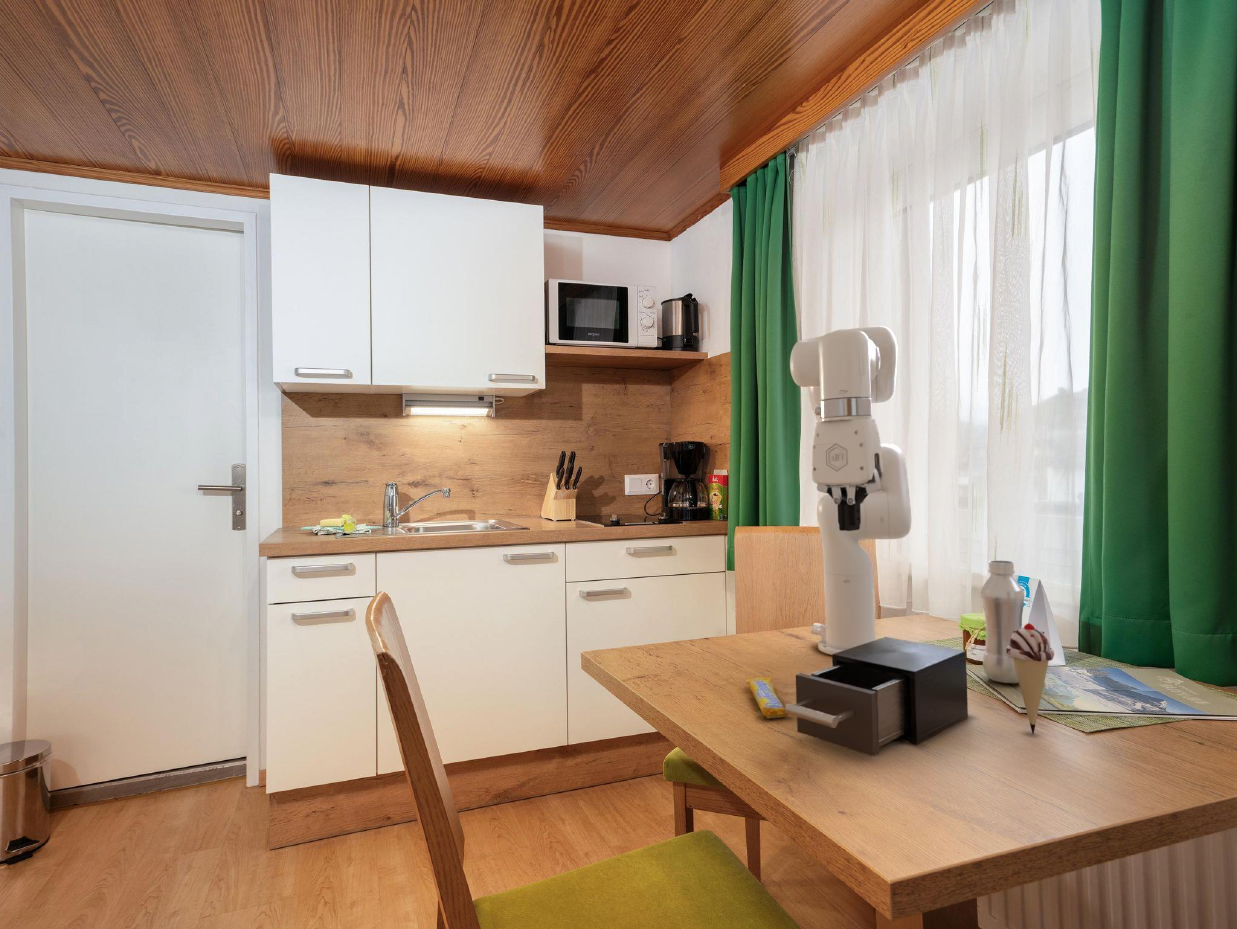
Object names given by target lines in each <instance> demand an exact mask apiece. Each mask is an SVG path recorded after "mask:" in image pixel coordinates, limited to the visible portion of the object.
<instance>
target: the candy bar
mask: <svg viewBox="0 0 1237 929" xmlns="http://www.w3.org/2000/svg"><path fill="white" fill-rule="evenodd" d="M745 683H746V684H747V685H748V687H749V689H750V691H751V693H752V695H753V697H754V699H755V702H756V704H757V705H758V707H759V709H760V711H761V714H762V715H763V716H764V717H765V718H766V719H767V720H768V719H776V718H777V719H778V718H785V717H787V716H788V715H789V714H787V713H786V712H785V707H784V705H783V703H781V700H780V698H779V697H778V695H777V693H776V691H775V689H774V687H773V685H772V684H771V683H772V678H771V677H769V676H755V677H746V678H745Z"/></svg>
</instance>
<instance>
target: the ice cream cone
mask: <svg viewBox="0 0 1237 929" xmlns="http://www.w3.org/2000/svg"><path fill="white" fill-rule="evenodd" d="M1013 633H1014V634H1013V635H1012V637H1011V640H1010V645H1008V646H1006V653H1007V656H1008V657H1009V658H1013V662H1014V666H1015V670H1016V673H1017V677H1018V681H1019V683H1018V685H1019V688H1020V691H1021V696H1022V699H1023V700H1022V701H1023V703H1024V704H1023V705H1024V707H1025V711H1026V714H1027V719H1028V722H1029V726H1030V731H1031V734H1032V735H1034V734H1035V729H1036V725H1037V719H1038V716H1039V710H1040V704H1041V700H1042V695H1043V690H1044V685H1045V680H1046V676H1047V671H1048V667H1049V661H1053V659H1054V657H1055V650H1054V649H1052V647H1051V644H1050V641H1049V639H1048V637H1047V636H1046V635H1045V631H1041V630H1039V629H1037V628H1035V626H1034V625H1033V624H1032V623H1030V622H1029V623H1025V624H1024V626H1023V627H1021V628H1020V629H1018V630H1017V631H1013Z"/></svg>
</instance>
